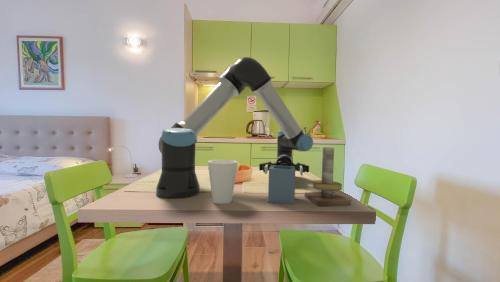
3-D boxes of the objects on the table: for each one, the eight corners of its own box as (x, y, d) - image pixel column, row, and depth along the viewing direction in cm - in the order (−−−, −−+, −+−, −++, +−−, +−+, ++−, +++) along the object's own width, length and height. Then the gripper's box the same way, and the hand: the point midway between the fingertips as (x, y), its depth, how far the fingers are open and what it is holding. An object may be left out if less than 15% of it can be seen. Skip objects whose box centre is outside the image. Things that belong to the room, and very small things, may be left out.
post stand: (304, 196, 85) (306, 146, 84) (332, 195, 87) (334, 146, 86) (319, 206, 74) (321, 148, 73) (351, 205, 76) (353, 149, 76)
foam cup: (231, 206, 72) (232, 164, 72) (203, 204, 74) (203, 162, 74) (239, 198, 82) (240, 160, 81) (213, 195, 83) (214, 159, 83)
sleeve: (270, 195, 86) (270, 165, 85) (293, 197, 84) (294, 166, 84) (268, 202, 77) (268, 168, 77) (294, 204, 76) (295, 170, 75)
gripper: (311, 172, 109) (317, 182, 88) (257, 170, 113) (250, 179, 92) (311, 156, 109) (317, 162, 88) (257, 154, 113) (251, 160, 92)
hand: (283, 171), depth 90 cm, fingers open, 13 cm apart
